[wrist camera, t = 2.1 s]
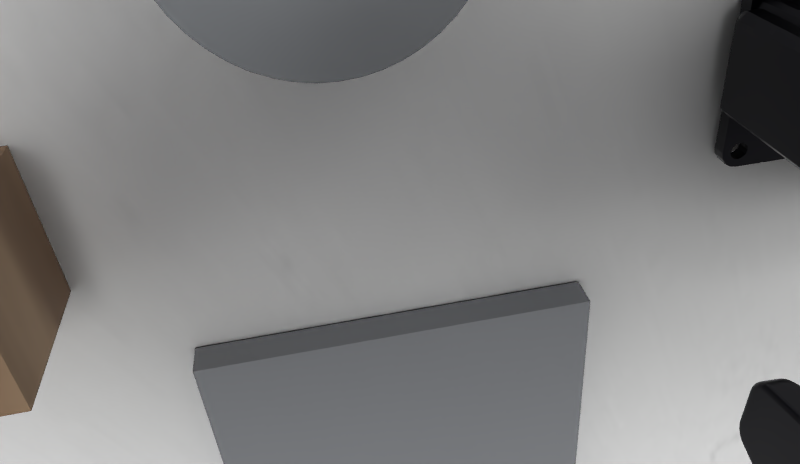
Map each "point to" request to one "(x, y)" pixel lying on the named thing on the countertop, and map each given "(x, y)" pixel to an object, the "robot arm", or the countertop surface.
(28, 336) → the walnut block
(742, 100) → the robot arm
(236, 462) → the slate pad
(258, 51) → the grey cylinder
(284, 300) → the countertop surface
